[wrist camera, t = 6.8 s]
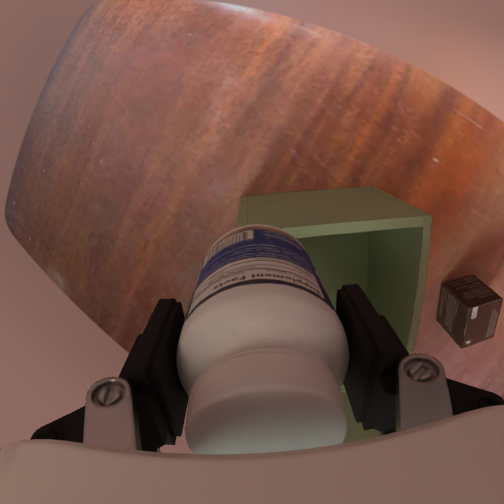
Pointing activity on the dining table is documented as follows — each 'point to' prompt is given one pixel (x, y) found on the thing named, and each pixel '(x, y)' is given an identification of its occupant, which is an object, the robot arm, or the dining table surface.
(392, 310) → the chest
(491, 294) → the box
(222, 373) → the pill bottle
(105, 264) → the dining table surface
